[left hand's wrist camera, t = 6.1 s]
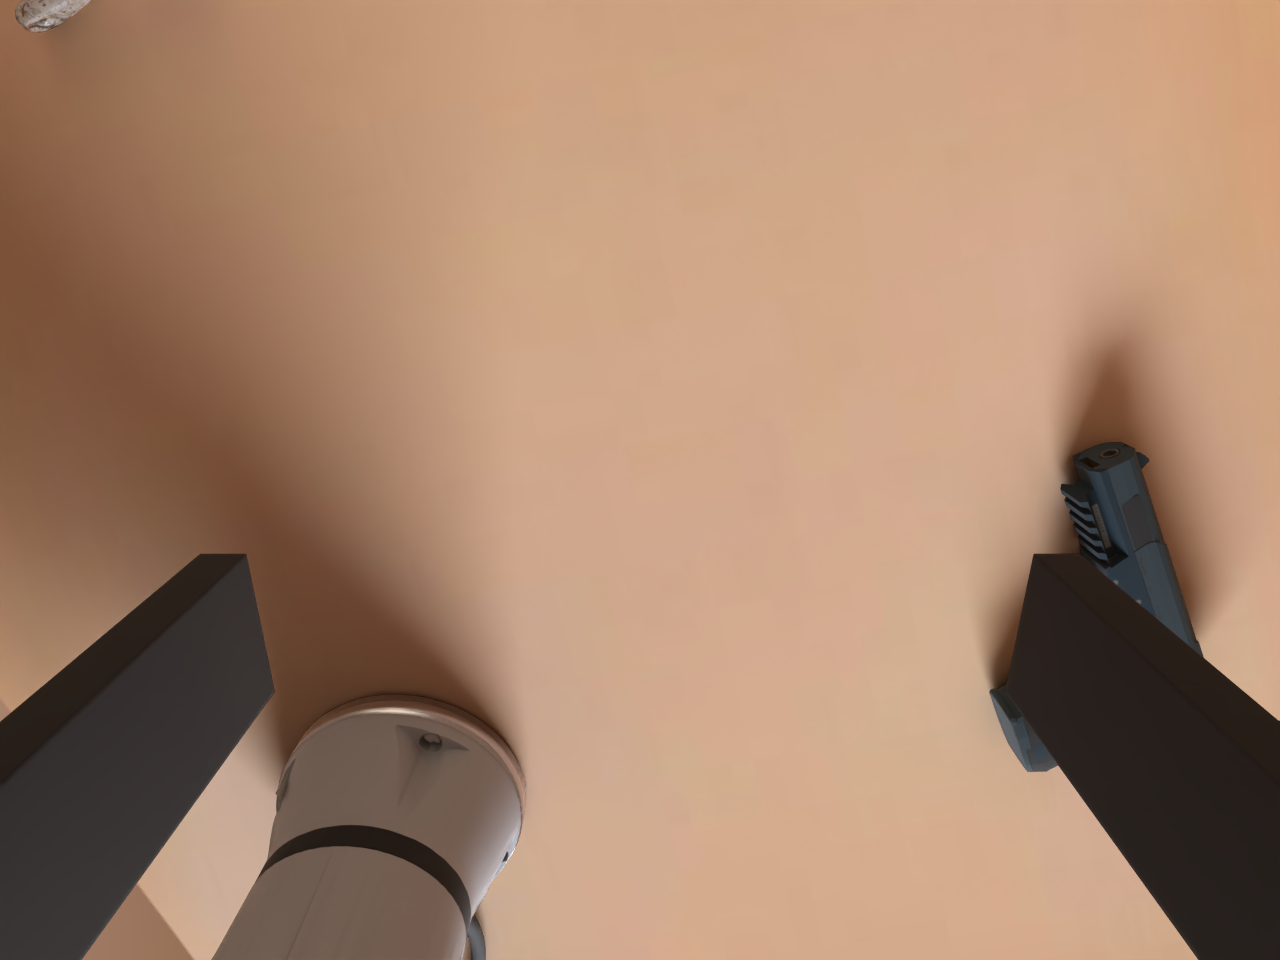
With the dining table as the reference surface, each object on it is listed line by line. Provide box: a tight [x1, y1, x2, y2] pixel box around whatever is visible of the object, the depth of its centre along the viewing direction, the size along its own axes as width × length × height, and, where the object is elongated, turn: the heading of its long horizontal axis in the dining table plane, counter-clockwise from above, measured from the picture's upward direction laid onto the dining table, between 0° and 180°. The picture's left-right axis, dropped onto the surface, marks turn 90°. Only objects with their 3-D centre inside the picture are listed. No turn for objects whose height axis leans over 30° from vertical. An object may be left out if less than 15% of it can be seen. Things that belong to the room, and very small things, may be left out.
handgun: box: [990, 442, 1204, 772], centre depth 43 cm, size 3×17×12 cm
